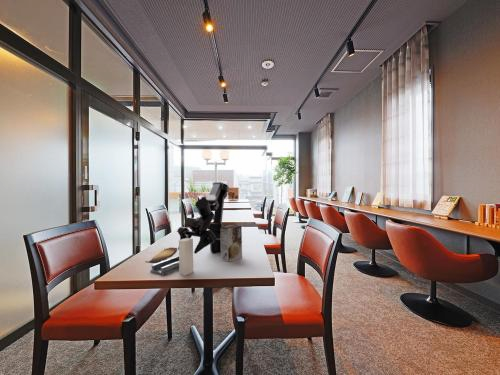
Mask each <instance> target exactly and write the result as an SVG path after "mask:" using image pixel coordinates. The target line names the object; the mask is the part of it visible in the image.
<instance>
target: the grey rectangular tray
mask: <svg viewBox="0 0 500 375" xmlns="http://www.w3.org/2000/svg"><path fill="white" fill-rule="evenodd" d="M177 271H179V255H176V256H174V257H173V256H172V257H169V258H167V259H166V260H163V261H161V262H155V263H154V264H151V268H150V273H153V274H157V275H161V276H163V277H164V276H168V275H169V274H172V273H174V272H177Z"/></svg>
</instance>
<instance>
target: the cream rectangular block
mask: <svg viewBox="0 0 500 375" xmlns="http://www.w3.org/2000/svg"><path fill="white" fill-rule="evenodd" d="M178 247H179V250H178V256H179V270H178V273H179V274H180V275H182V276H187V275H189V274H191V273H193V272H194V239H193V238H185V239H181V240H180V239H179V240H178Z"/></svg>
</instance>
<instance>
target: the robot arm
mask: <svg viewBox="0 0 500 375" xmlns="http://www.w3.org/2000/svg"><path fill="white" fill-rule="evenodd" d="M229 191H230V188H229V185H228V184H227V183H224V182H222V181H214V182H212V186H211V189H210V192H209V193H208V195H207V196H201V197H200V199H198V200H196V201H195V203H194V206H195V208H196V210H197V214H199V216H198V217H196V218H192V217H186V218H185V222H184V226H180V227H178V229H177V231H176V232H177V233H178V235H179V240H181V239H185V238H190V239H192V237H197V238H199V241H198V243H197V244H196V247H195V249H194V250H193V254H198V253H199V252H200V251H202V250H203V249H204V248H206V247H208V246H209V247H210V248H209V249H210V250H209V251H210V252H211V253H212V254H219V253H220V254H221V238H220V227H222V226H224V225H223V222H222V221H223V214H224V204H225V203H224V202H225V199H226V197H228V194H229ZM185 226H187V227H185ZM188 227H189V228H188ZM177 250H178V251H179V246H178V248H177Z"/></svg>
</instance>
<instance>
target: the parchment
mask: <svg viewBox="0 0 500 375" xmlns="http://www.w3.org/2000/svg"><path fill="white" fill-rule="evenodd" d="M160 250H161V251H160ZM160 250H159V251H158V252H156V253H154V255H153V258H151V259H150V261H149V262H150V263H159V262H162V261H165V260H168V259H170V258H171V257H172V255H174V254H175V252H176V250H178V248H177V247H168V248H167V247H166V249H165V248H164V250H162V249H160ZM145 262H146V263H148V261H147V260H146V261H145Z"/></svg>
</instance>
